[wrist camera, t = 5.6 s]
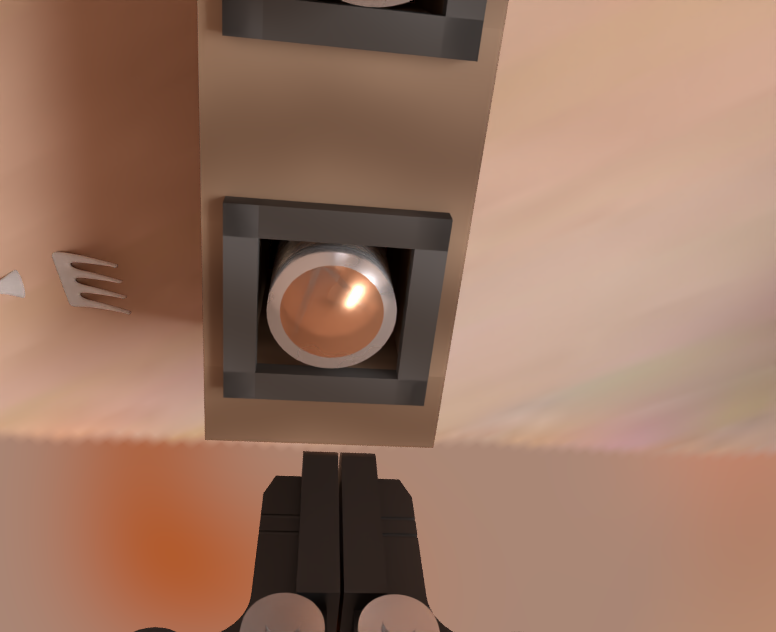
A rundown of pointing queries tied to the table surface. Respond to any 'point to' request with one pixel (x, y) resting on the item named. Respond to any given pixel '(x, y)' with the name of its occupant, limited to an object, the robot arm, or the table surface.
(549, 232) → the table surface
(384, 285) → the peg
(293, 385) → the walnut bar
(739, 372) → the table surface
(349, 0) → the peg
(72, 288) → the fork
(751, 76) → the table surface
